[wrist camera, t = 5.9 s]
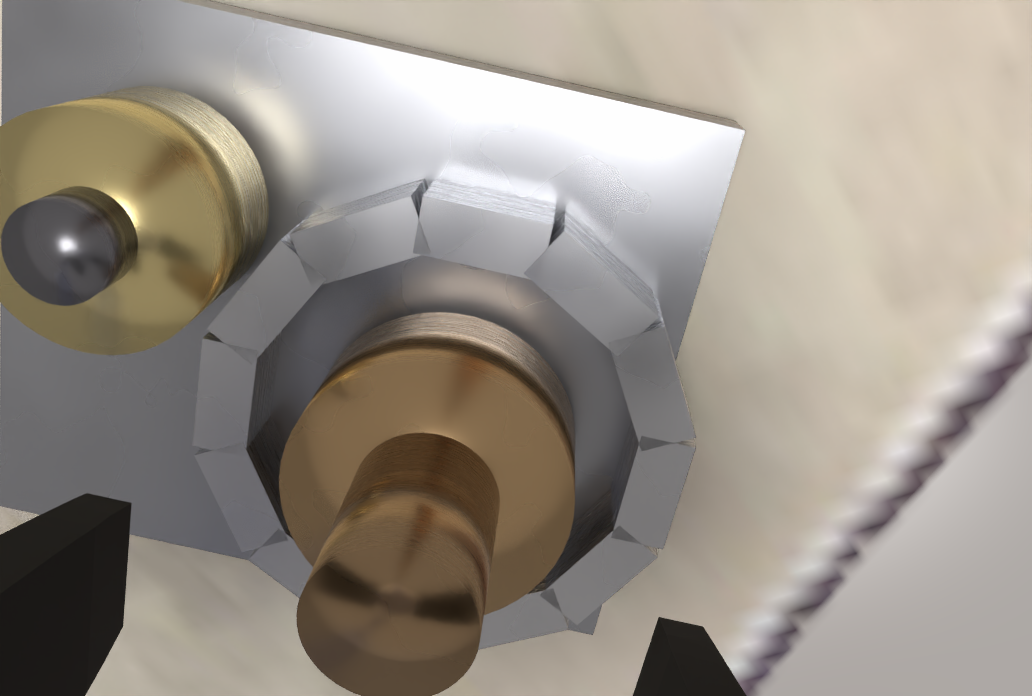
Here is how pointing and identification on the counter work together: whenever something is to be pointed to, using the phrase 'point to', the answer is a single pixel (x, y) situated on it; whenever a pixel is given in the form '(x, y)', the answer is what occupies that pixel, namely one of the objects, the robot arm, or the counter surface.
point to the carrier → (328, 265)
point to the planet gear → (425, 498)
